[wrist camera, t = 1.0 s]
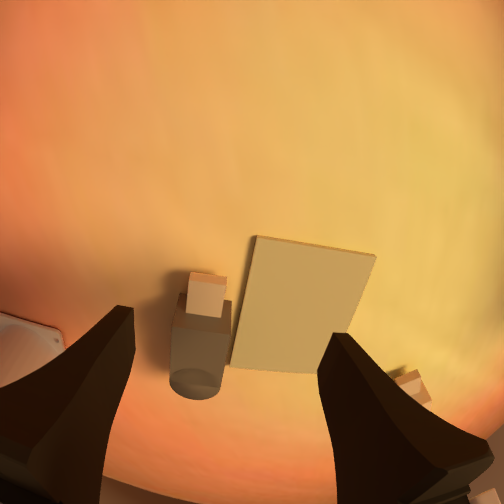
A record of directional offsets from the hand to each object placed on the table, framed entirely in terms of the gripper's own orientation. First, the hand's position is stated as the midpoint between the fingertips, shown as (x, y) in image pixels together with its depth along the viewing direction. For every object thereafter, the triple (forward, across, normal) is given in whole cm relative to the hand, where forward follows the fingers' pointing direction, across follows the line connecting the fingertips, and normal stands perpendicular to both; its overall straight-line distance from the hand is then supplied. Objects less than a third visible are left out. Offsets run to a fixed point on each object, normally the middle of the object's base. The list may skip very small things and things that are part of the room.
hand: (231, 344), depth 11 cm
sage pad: (+10, -5, +5) cm, 12 cm away
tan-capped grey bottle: (+10, +1, +7) cm, 12 cm away
